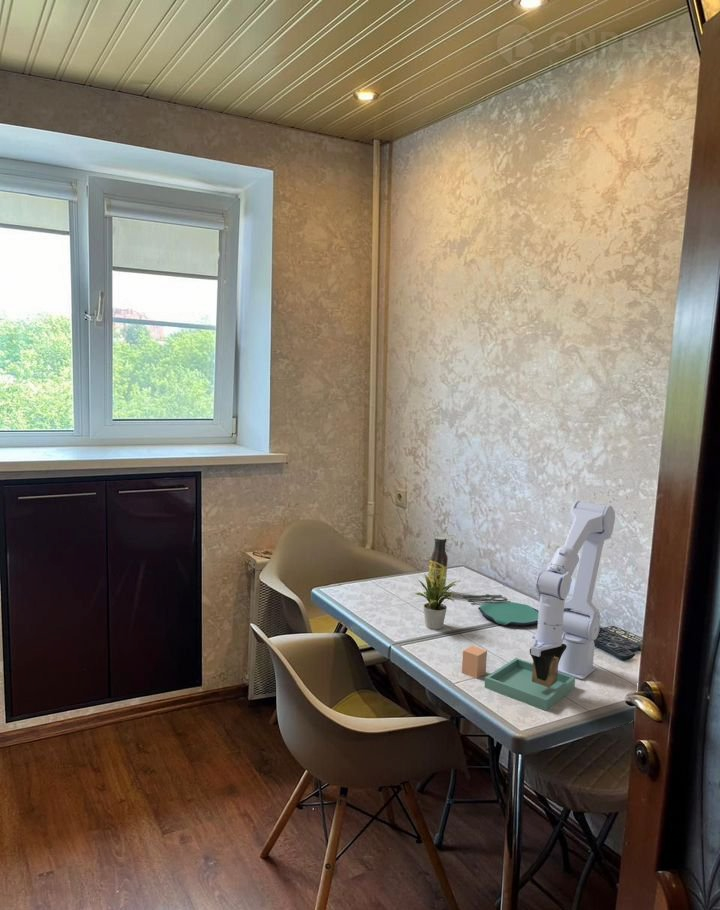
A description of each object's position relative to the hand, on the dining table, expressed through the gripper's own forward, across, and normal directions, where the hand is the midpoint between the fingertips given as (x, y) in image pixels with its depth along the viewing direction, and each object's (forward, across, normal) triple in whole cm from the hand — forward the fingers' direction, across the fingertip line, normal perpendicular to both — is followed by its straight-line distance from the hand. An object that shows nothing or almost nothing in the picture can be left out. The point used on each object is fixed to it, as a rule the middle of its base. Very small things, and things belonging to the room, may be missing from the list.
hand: (546, 675), depth 158 cm
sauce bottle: (+4, -42, -60) cm, 73 cm away
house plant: (+4, -15, -42) cm, 45 cm away
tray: (+4, 0, -4) cm, 6 cm away
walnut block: (+2, 0, 0) cm, 2 cm away
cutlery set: (+5, -43, -35) cm, 56 cm away
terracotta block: (+4, +3, -18) cm, 19 cm away
